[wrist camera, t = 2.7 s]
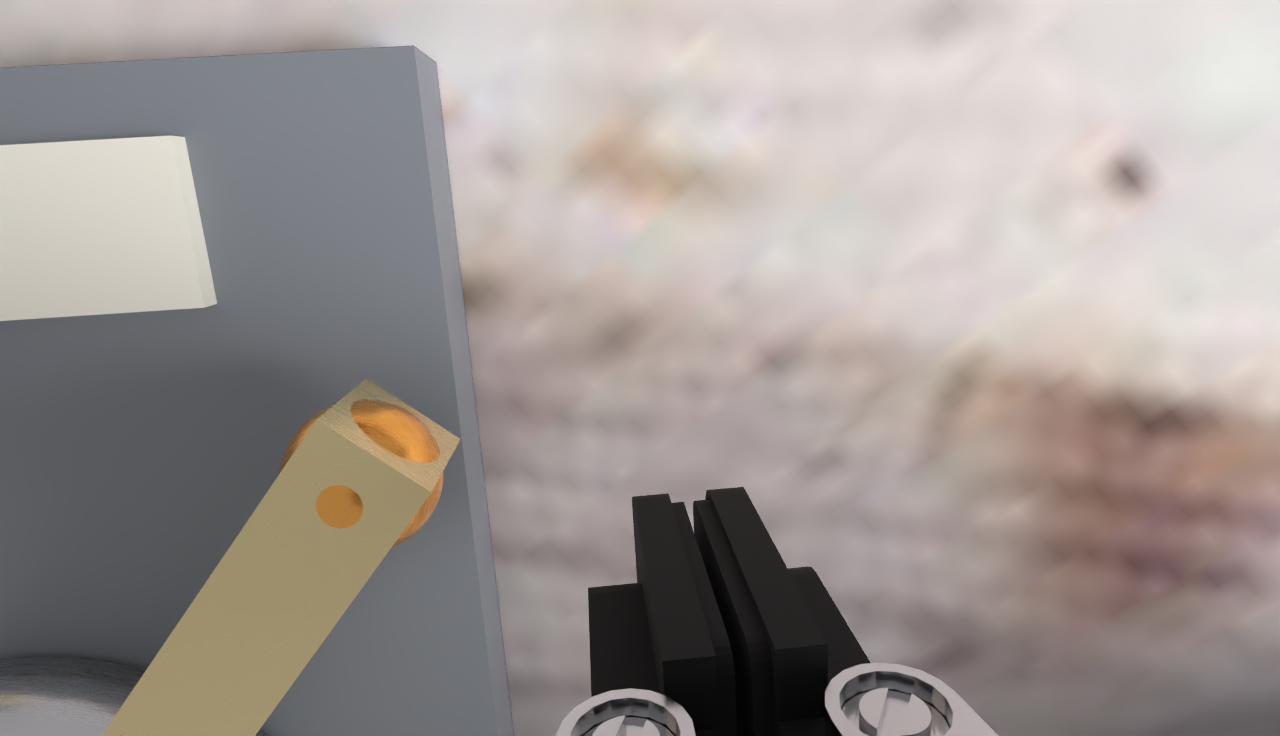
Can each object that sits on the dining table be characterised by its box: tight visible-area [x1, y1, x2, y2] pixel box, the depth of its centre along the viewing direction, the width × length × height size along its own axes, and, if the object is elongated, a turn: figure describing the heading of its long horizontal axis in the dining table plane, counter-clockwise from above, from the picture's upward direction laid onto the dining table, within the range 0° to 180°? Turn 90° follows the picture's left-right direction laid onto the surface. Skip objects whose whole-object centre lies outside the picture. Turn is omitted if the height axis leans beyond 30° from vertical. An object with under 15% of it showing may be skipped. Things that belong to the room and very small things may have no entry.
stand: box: [0, 46, 514, 736], centre depth 18 cm, size 20×27×3 cm
